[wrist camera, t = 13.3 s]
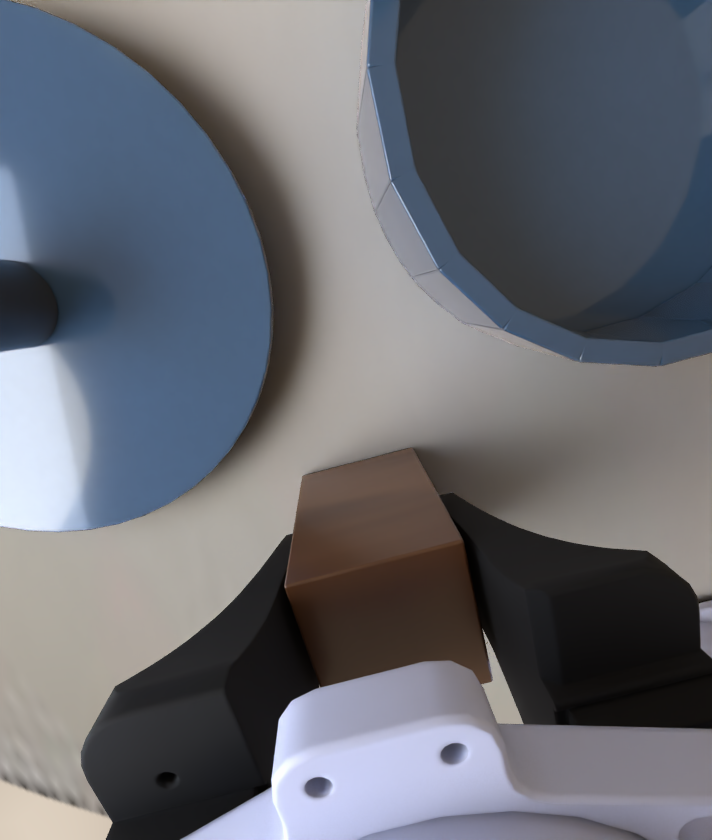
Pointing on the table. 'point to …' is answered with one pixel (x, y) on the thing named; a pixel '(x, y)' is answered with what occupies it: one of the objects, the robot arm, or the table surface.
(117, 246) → the lid
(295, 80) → the table surface
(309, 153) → the table surface
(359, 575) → the block
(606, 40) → the pot
